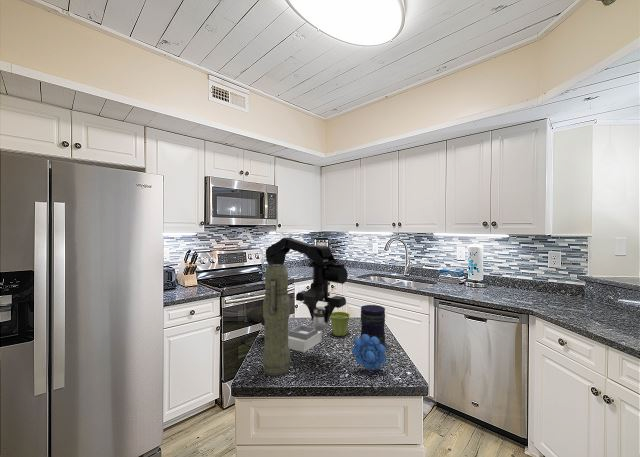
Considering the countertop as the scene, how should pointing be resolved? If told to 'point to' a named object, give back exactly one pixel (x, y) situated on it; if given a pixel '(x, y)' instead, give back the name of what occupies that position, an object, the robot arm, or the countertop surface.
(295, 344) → the grey open box
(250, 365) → the countertop surface
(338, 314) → the plant pot
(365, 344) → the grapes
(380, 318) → the storage jar
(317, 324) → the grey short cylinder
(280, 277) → the thermos
